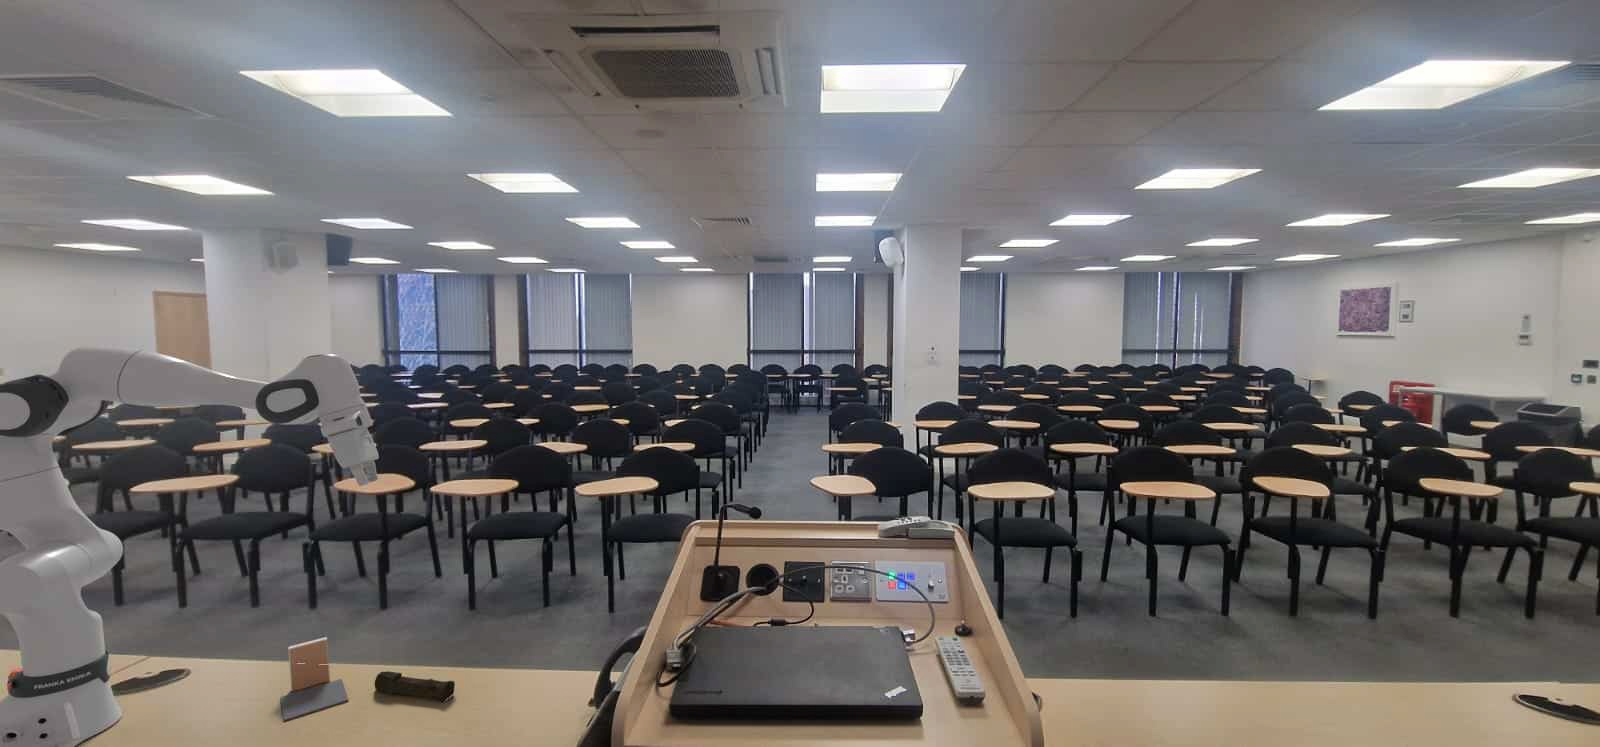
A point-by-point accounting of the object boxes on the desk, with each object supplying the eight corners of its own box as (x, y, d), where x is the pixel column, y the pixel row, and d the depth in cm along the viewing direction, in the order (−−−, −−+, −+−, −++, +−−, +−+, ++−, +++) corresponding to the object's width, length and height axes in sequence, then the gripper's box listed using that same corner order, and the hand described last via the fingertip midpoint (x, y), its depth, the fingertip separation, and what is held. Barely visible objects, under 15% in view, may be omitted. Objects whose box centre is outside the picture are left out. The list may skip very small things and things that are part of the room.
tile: (291, 692, 146) (288, 649, 145) (291, 689, 147) (288, 646, 146) (330, 681, 150) (327, 639, 150) (329, 678, 152) (326, 636, 151)
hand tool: (456, 695, 145) (455, 674, 145) (443, 705, 141) (442, 684, 141) (386, 684, 149) (385, 665, 149) (370, 694, 145) (369, 674, 145)
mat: (284, 721, 135) (284, 719, 135) (280, 698, 143) (280, 697, 143) (348, 701, 142) (348, 699, 142) (341, 680, 151) (341, 678, 151)
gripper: (343, 428, 153) (364, 484, 154) (317, 429, 134) (341, 492, 135) (373, 419, 155) (393, 474, 156) (352, 419, 136) (375, 481, 137)
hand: (369, 483), depth 145 cm, fingers open, 8 cm apart
